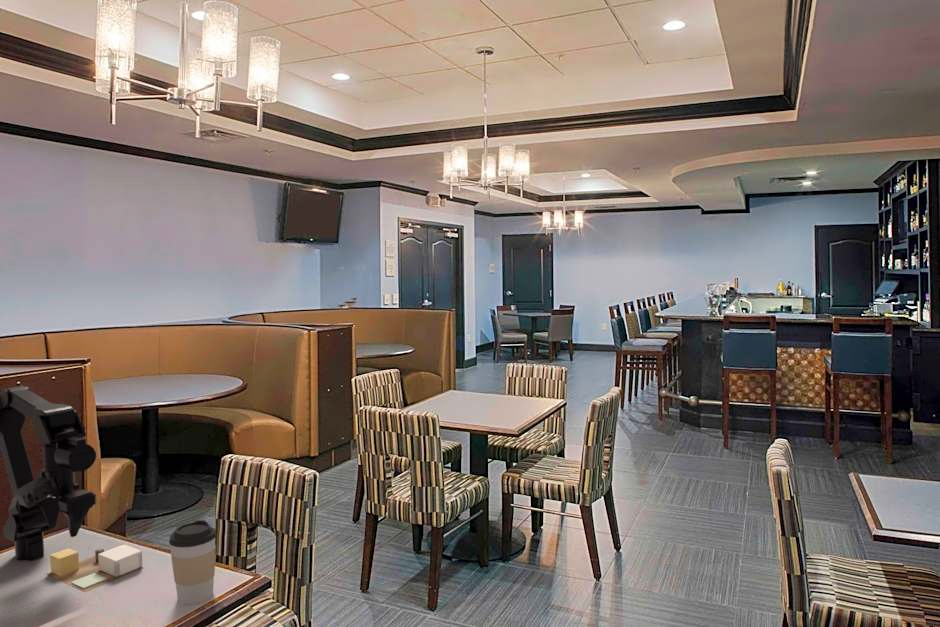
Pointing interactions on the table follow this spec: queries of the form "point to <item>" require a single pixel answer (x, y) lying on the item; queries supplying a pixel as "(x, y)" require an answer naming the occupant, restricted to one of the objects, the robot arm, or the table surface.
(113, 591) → the table surface
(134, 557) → the cover
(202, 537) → the coffee cup
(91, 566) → the board
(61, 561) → the block
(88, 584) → the thin mint green panel
